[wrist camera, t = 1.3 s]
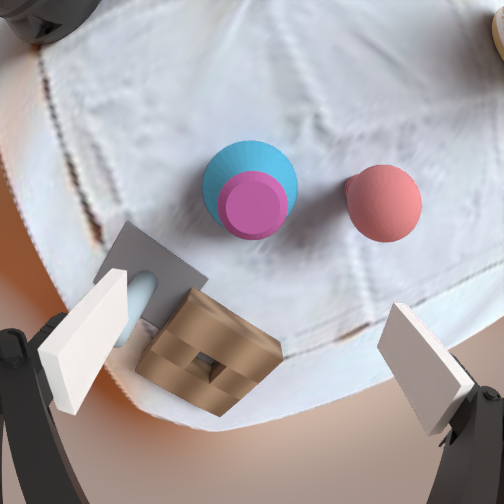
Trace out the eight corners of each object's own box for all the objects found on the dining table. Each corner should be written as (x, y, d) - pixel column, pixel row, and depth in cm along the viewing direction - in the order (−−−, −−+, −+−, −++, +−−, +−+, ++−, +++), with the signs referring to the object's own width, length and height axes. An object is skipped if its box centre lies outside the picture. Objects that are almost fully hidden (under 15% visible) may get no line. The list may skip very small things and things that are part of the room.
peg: (131, 283, 37) (93, 334, 25) (142, 265, 36) (104, 314, 25) (150, 296, 37) (119, 352, 26) (162, 279, 37) (131, 333, 25)
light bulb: (321, 217, 35) (357, 250, 24) (328, 156, 33) (369, 161, 21) (376, 222, 35) (427, 255, 24) (384, 165, 33) (441, 175, 22)
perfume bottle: (230, 128, 32) (220, 110, 17) (305, 165, 33) (348, 178, 19) (194, 201, 34) (159, 239, 20) (266, 236, 36) (281, 295, 21)
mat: (94, 281, 37) (93, 282, 37) (127, 220, 35) (126, 221, 34) (167, 331, 40) (166, 333, 39) (208, 278, 37) (208, 279, 37)
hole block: (142, 353, 41) (134, 371, 37) (192, 285, 37) (187, 300, 34) (221, 398, 44) (219, 417, 40) (280, 342, 40) (283, 360, 37)
